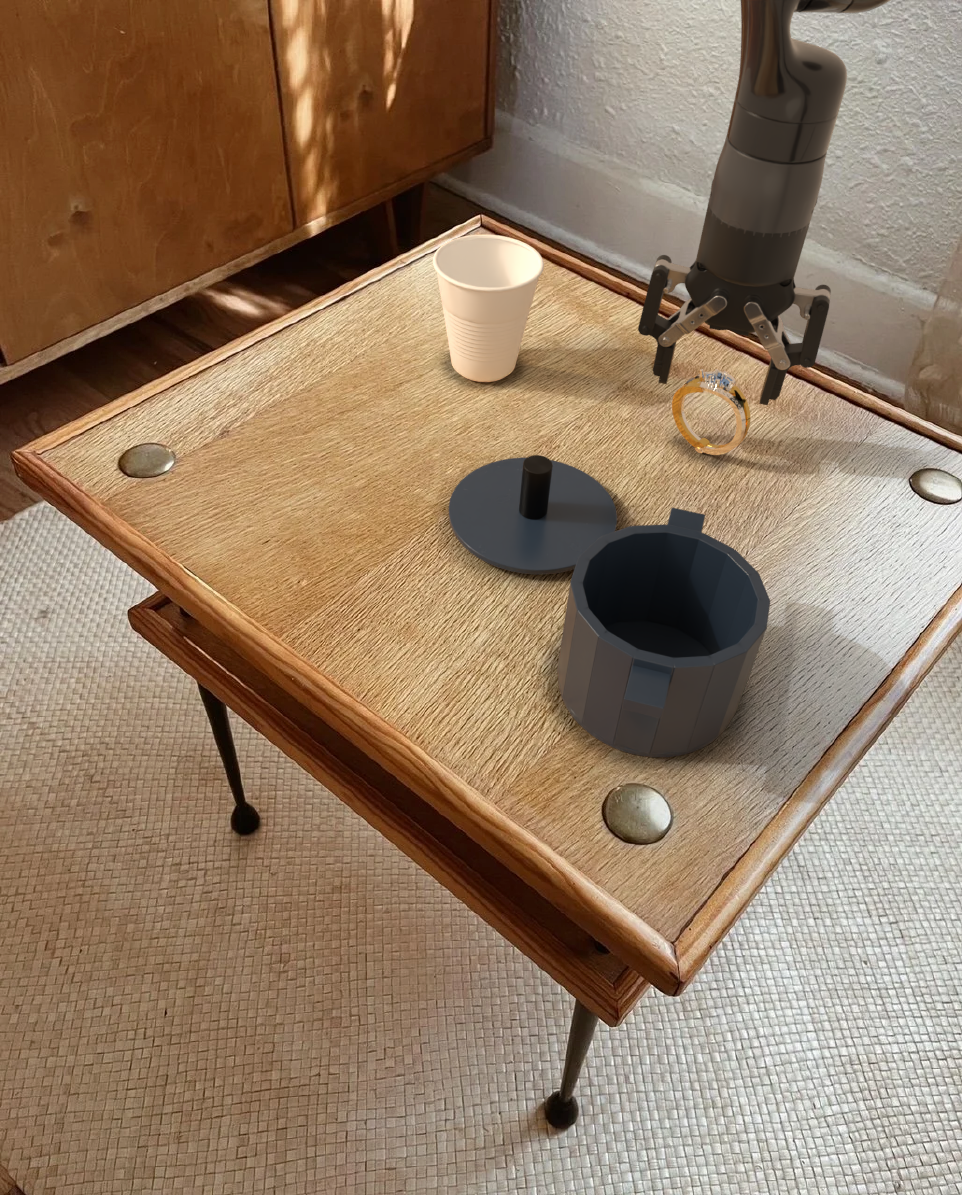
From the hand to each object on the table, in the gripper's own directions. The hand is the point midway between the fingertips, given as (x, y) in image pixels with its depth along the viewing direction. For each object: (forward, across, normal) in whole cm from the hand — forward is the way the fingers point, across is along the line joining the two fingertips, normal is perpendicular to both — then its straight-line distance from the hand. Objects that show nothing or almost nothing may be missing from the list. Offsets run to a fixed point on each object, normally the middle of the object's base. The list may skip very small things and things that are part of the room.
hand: (713, 389), depth 87 cm
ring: (+7, 0, 0) cm, 7 cm away
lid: (+6, -12, -14) cm, 19 cm away
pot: (+6, 0, -28) cm, 29 cm away
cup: (+7, -22, +6) cm, 24 cm away
